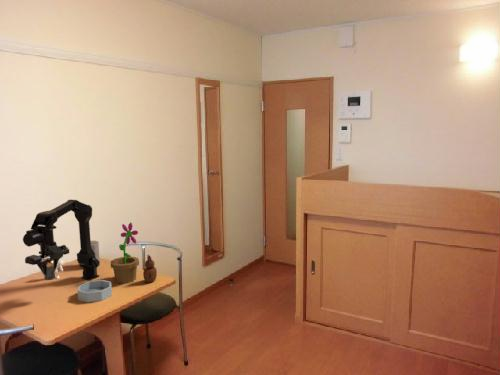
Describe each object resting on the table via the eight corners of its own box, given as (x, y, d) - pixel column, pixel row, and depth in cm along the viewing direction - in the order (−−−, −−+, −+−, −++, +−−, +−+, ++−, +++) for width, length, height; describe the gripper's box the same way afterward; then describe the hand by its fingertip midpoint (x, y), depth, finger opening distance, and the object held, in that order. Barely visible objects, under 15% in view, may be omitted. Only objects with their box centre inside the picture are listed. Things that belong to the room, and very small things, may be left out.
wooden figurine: (149, 284, 200) (148, 256, 198) (141, 282, 203) (140, 254, 201) (159, 280, 206) (158, 252, 204) (151, 278, 209) (150, 250, 207)
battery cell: (50, 275, 185) (49, 256, 184) (57, 277, 183) (55, 257, 182) (42, 279, 181) (40, 259, 180) (48, 280, 179) (47, 260, 178)
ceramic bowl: (96, 287, 197) (95, 278, 197) (118, 292, 191) (117, 283, 190) (71, 298, 184) (71, 289, 184) (94, 304, 178) (93, 294, 177)
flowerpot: (145, 277, 210) (143, 222, 205) (125, 287, 197) (123, 228, 193) (125, 273, 216) (123, 219, 212) (105, 282, 204) (101, 225, 199)
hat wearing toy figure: (64, 275, 213) (62, 254, 211) (64, 277, 209) (63, 256, 207) (45, 278, 208) (43, 256, 207) (45, 281, 205) (43, 258, 203)
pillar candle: (78, 268, 224) (76, 242, 221) (87, 262, 233) (86, 237, 231) (94, 269, 222) (92, 243, 220) (103, 263, 231) (102, 238, 229)
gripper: (39, 248, 168) (42, 283, 170) (76, 237, 184) (78, 269, 186) (22, 244, 172) (25, 278, 175) (60, 234, 189) (62, 265, 191)
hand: (49, 273), depth 182 cm, fingers closed on battery cell, 4 cm apart
